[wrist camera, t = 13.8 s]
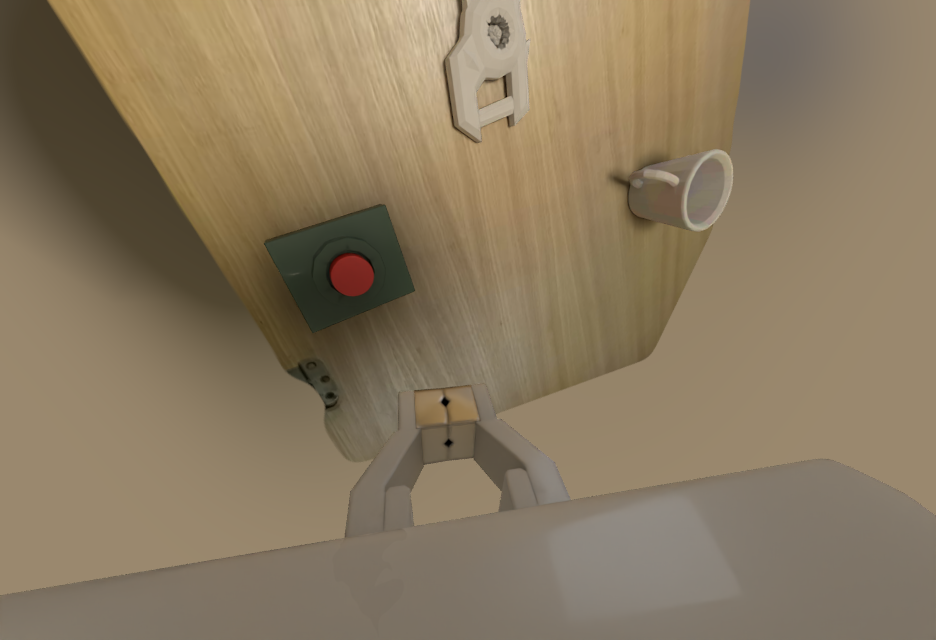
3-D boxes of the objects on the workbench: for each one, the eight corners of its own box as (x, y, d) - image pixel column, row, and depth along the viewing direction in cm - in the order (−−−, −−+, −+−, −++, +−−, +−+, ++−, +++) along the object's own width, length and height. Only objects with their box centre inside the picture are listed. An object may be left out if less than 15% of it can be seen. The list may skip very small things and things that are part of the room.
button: (339, 297, 34) (341, 302, 32) (322, 261, 32) (323, 264, 31) (376, 283, 35) (379, 287, 34) (361, 247, 33) (364, 250, 32)
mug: (651, 231, 57) (713, 238, 49) (592, 211, 50) (653, 215, 41) (675, 167, 54) (744, 162, 46) (615, 135, 47) (685, 124, 39)
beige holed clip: (433, -108, 27) (533, -96, 30) (418, -82, 29) (511, -74, 33) (466, 145, 35) (541, 131, 39) (452, 146, 38) (523, 134, 42)
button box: (311, 326, 37) (313, 339, 34) (265, 240, 33) (262, 246, 29) (409, 286, 41) (420, 295, 37) (380, 203, 36) (389, 205, 33)
